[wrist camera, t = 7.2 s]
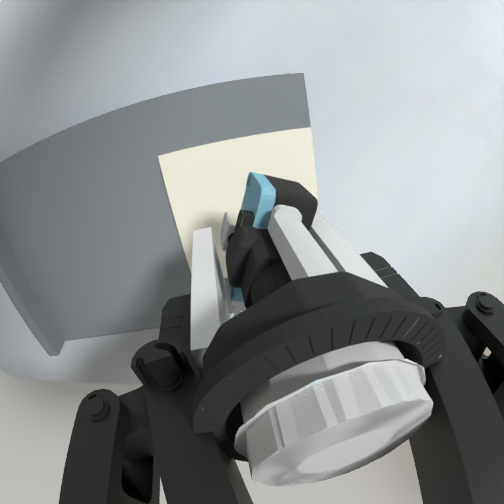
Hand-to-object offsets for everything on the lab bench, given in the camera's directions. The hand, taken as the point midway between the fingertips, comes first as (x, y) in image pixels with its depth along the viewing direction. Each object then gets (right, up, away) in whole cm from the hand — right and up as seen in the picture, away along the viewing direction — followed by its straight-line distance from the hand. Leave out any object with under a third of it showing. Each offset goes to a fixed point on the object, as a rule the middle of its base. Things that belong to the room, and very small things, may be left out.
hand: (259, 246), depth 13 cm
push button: (0, 0, 0) cm, 1 cm away
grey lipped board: (-7, +1, +4) cm, 8 cm away
